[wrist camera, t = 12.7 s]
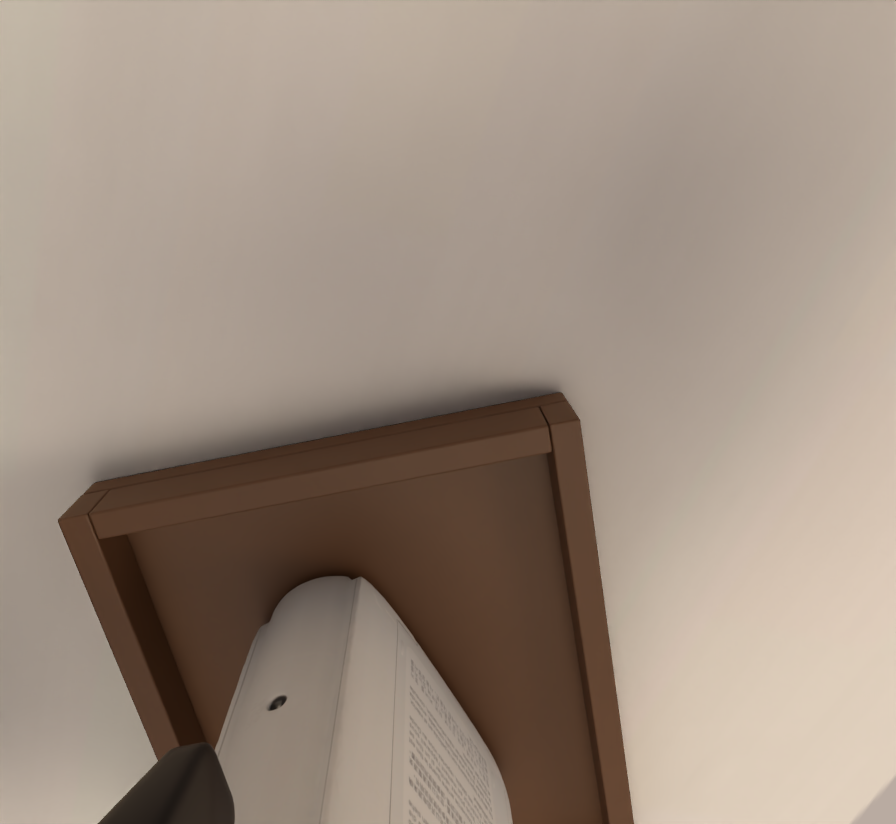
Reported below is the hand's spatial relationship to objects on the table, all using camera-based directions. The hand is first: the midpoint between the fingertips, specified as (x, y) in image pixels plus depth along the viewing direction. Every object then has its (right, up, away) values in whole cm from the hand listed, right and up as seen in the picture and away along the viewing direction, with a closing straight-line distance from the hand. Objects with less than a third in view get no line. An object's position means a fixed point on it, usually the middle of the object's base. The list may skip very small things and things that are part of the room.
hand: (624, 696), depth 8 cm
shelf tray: (-4, -6, +16) cm, 17 cm away
